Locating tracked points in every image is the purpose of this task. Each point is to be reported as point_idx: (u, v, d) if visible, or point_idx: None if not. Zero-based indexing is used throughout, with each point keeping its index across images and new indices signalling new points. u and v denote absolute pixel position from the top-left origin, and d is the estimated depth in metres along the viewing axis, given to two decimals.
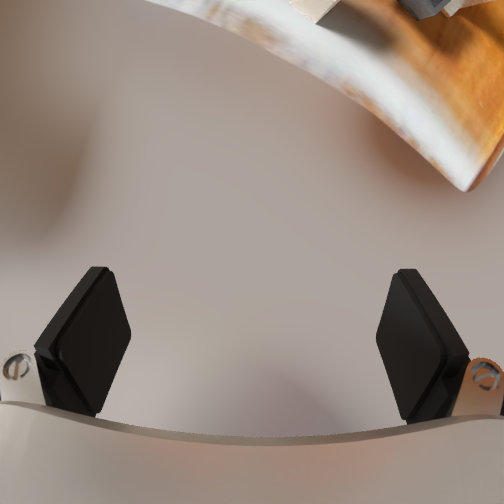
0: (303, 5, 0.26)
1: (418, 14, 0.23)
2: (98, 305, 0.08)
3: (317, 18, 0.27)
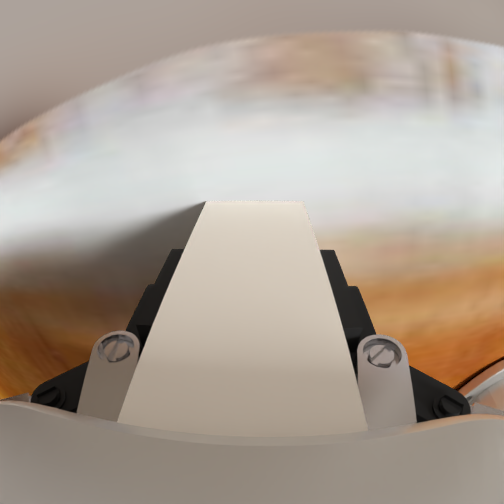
0: (263, 236, 0.10)
1: None
2: None
3: (200, 227, 0.11)
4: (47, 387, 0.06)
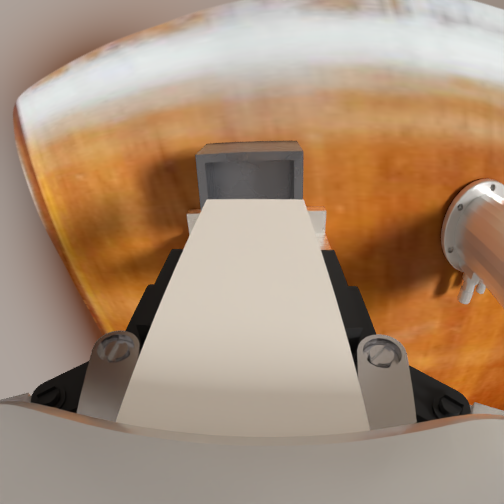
0: (264, 234, 0.10)
1: (212, 146, 0.23)
2: None
3: (200, 225, 0.11)
4: (47, 387, 0.06)
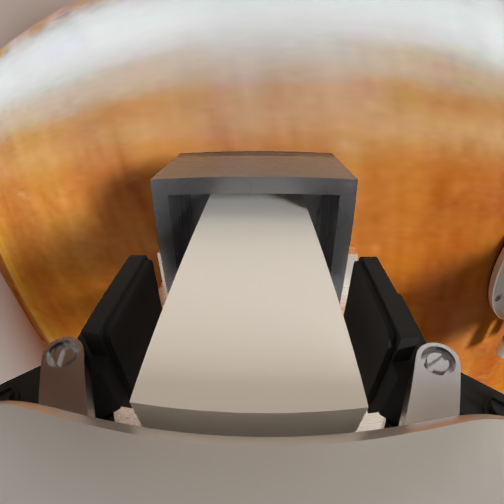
0: (265, 218, 0.11)
1: (187, 159, 0.13)
2: (140, 292, 0.09)
3: (208, 211, 0.12)
4: (3, 388, 0.05)
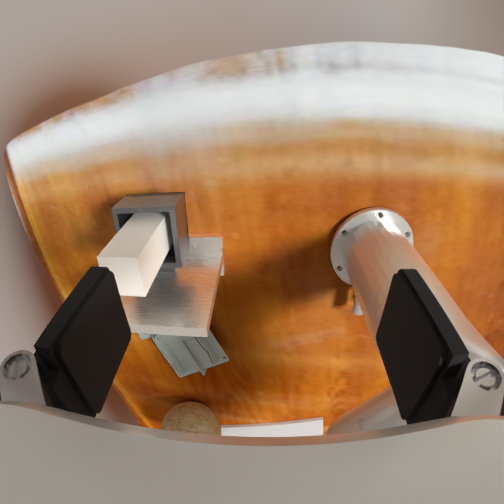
0: (147, 220, 0.32)
1: (127, 198, 0.33)
2: (98, 305, 0.08)
3: (131, 218, 0.32)
4: None
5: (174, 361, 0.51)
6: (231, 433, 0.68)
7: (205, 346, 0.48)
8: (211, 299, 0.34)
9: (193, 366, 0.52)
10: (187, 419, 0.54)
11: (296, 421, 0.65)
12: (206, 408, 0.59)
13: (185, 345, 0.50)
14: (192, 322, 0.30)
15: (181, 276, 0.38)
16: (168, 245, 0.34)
